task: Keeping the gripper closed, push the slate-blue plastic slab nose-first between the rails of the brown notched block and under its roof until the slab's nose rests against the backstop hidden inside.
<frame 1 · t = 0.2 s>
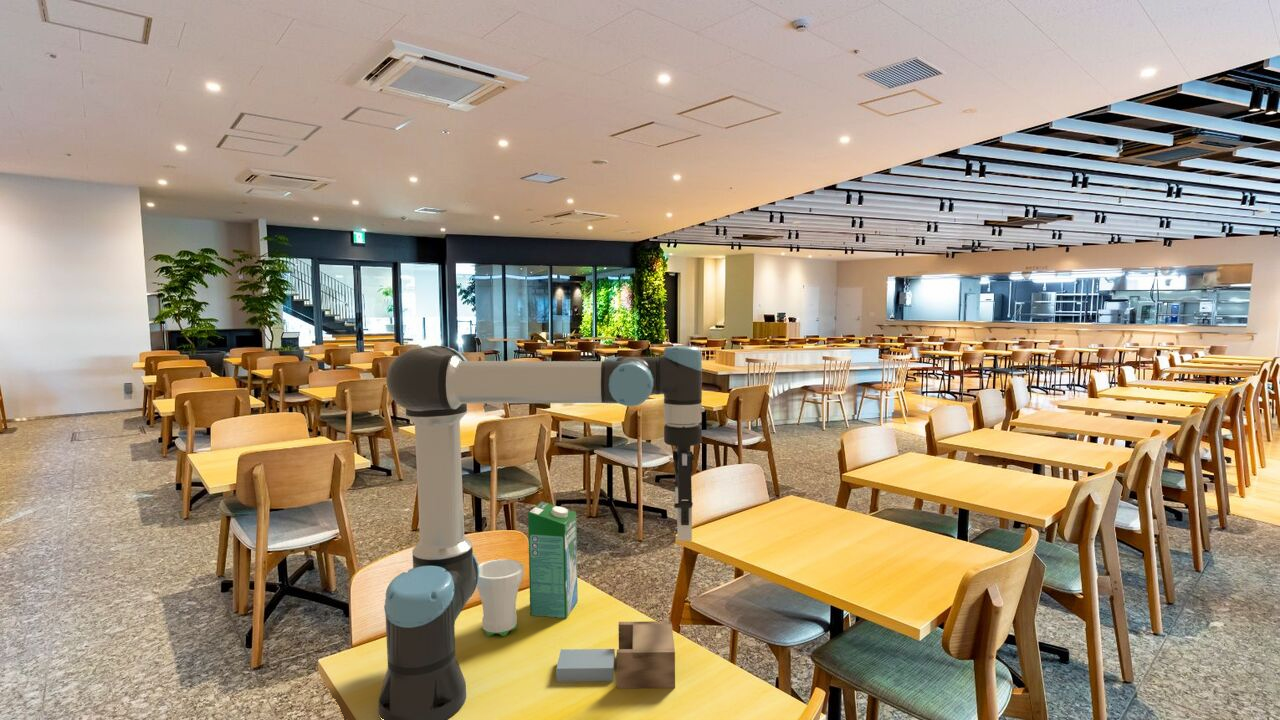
hand: (683, 528, 125), 28 cm above the table, fingers open, 13 cm apart
brown notched block: (645, 670, 124), on the table
milk carton: (554, 609, 151), on the table
slab: (586, 673, 124), on the table
cup: (499, 630, 141), on the table
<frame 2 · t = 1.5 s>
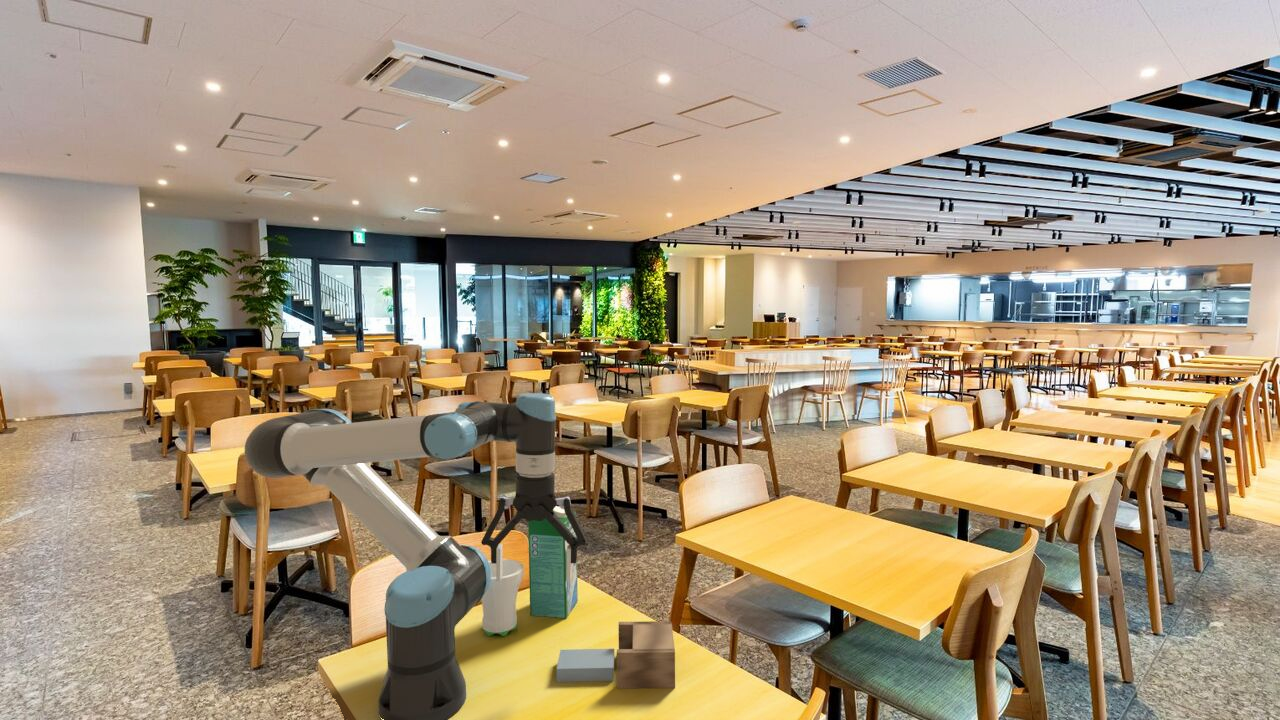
hand: (534, 578, 123), 19 cm above the table, fingers open, 13 cm apart
nothing on the table moved.
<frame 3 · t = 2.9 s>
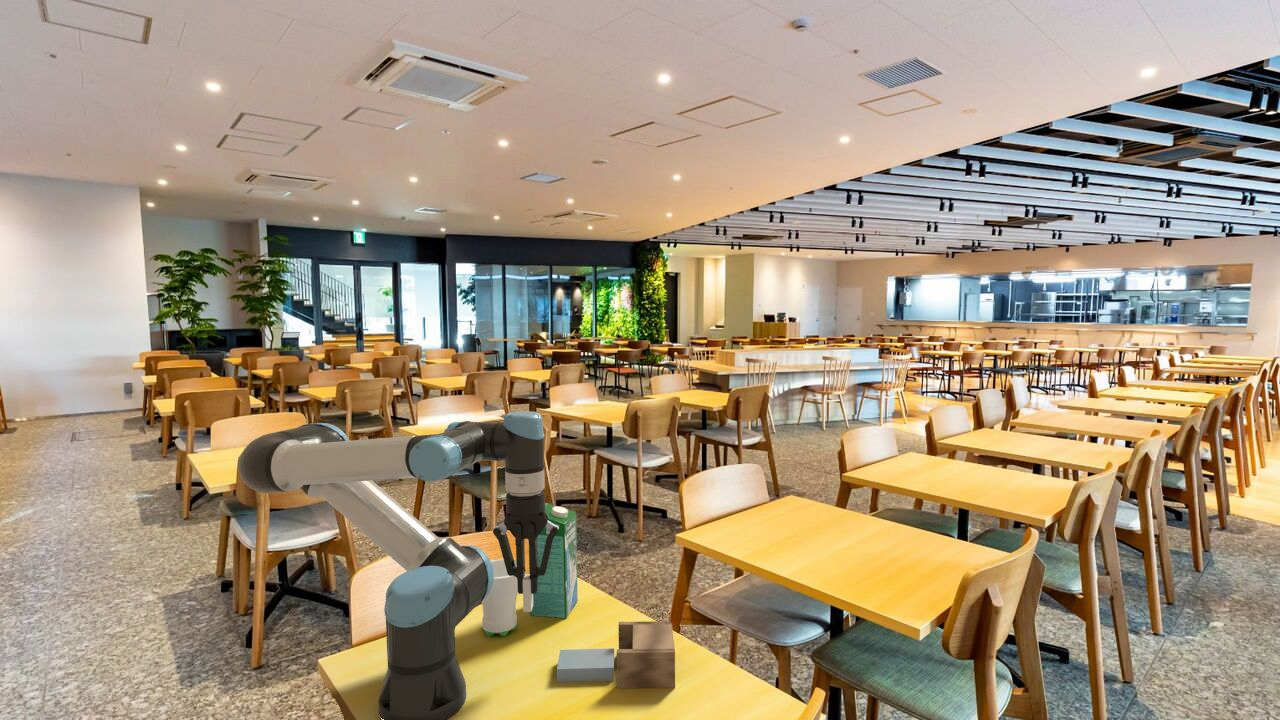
hand: (528, 608, 123), 13 cm above the table, fingers closed
nothing on the table moved.
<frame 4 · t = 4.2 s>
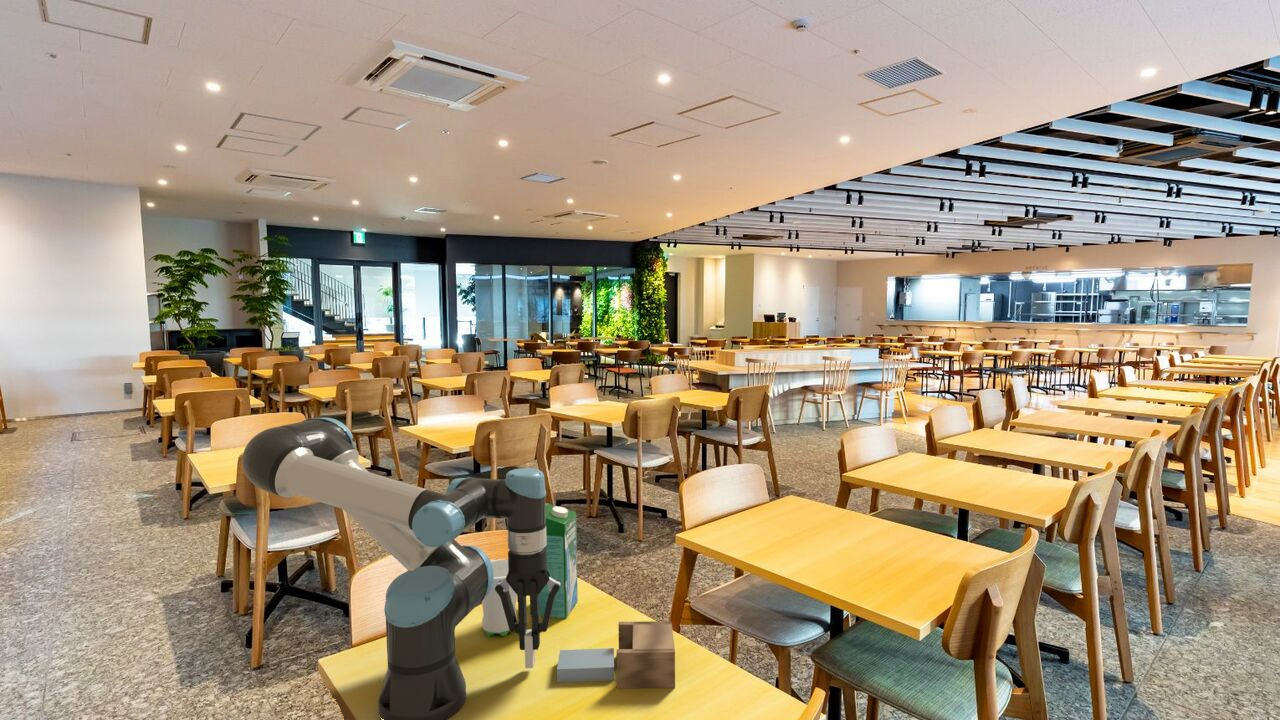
hand: (530, 664, 124), 1 cm above the table, fingers closed
nothing on the table moved.
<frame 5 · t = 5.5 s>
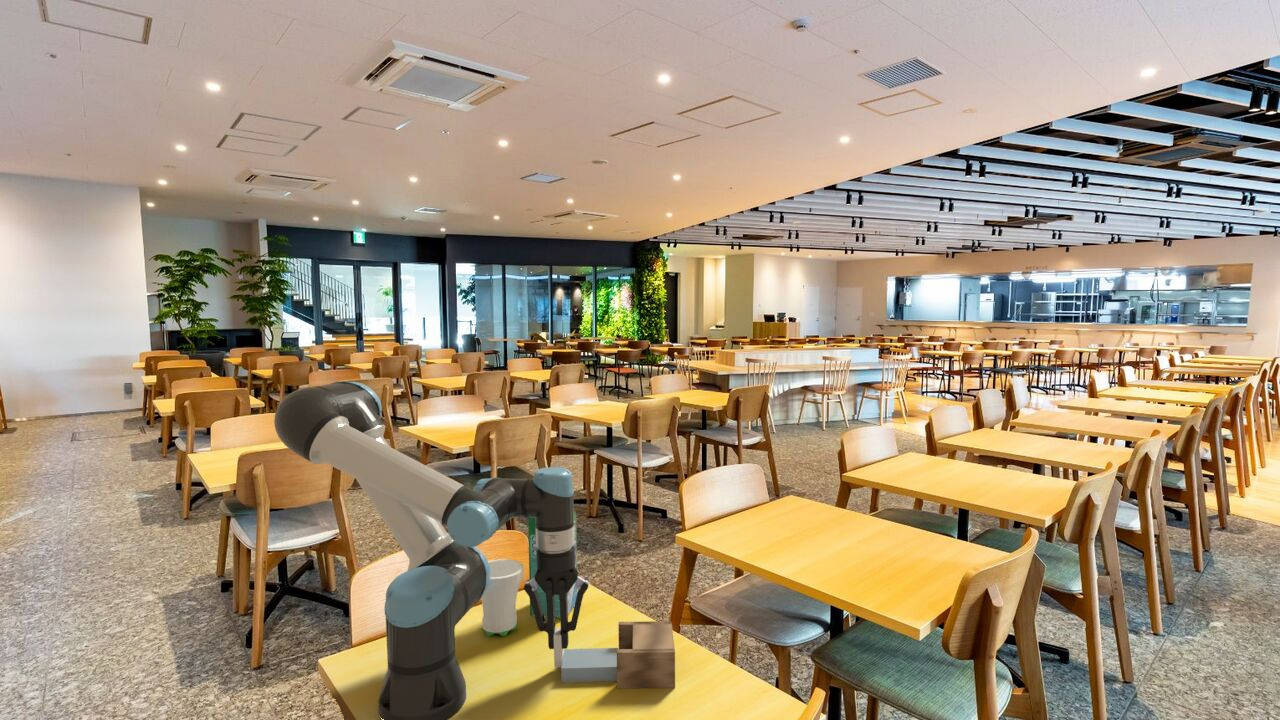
hand: (559, 663, 124), 2 cm above the table, fingers closed
nothing on the table moved.
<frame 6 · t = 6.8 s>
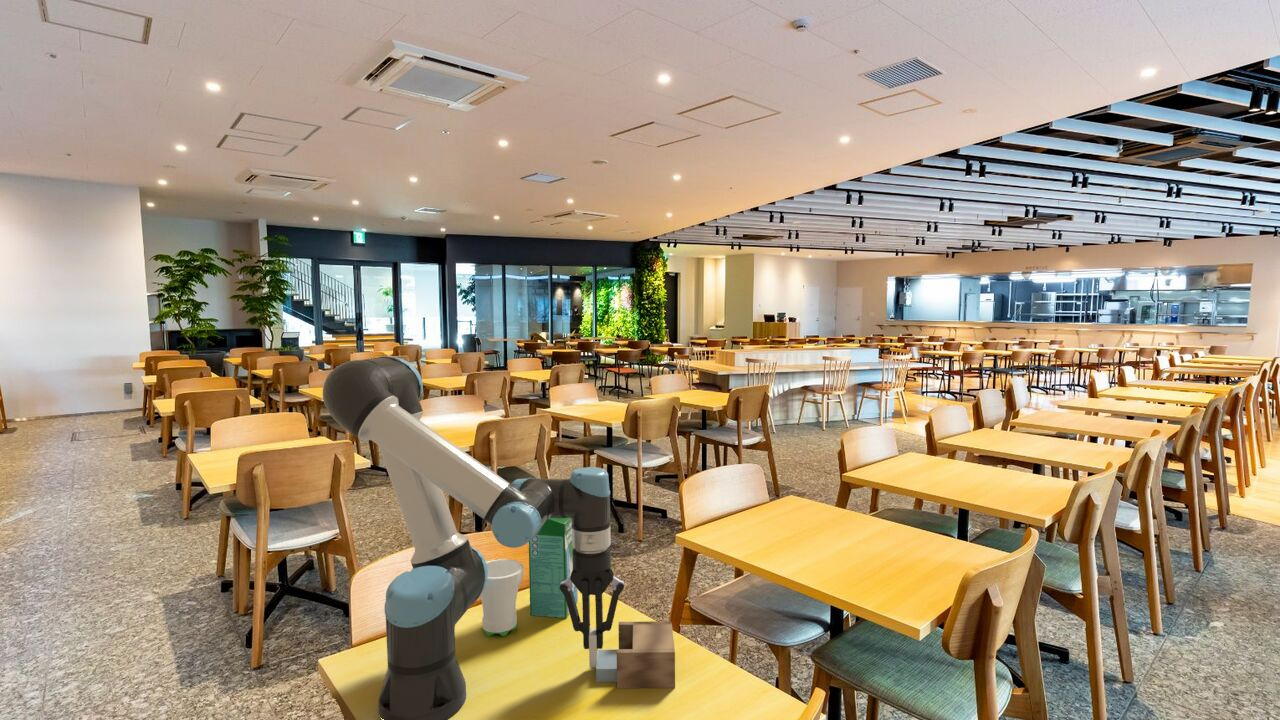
hand: (593, 663, 124), 2 cm above the table, fingers closed
slab: (625, 673, 124), on the table, touching gripper
everything else where it was.
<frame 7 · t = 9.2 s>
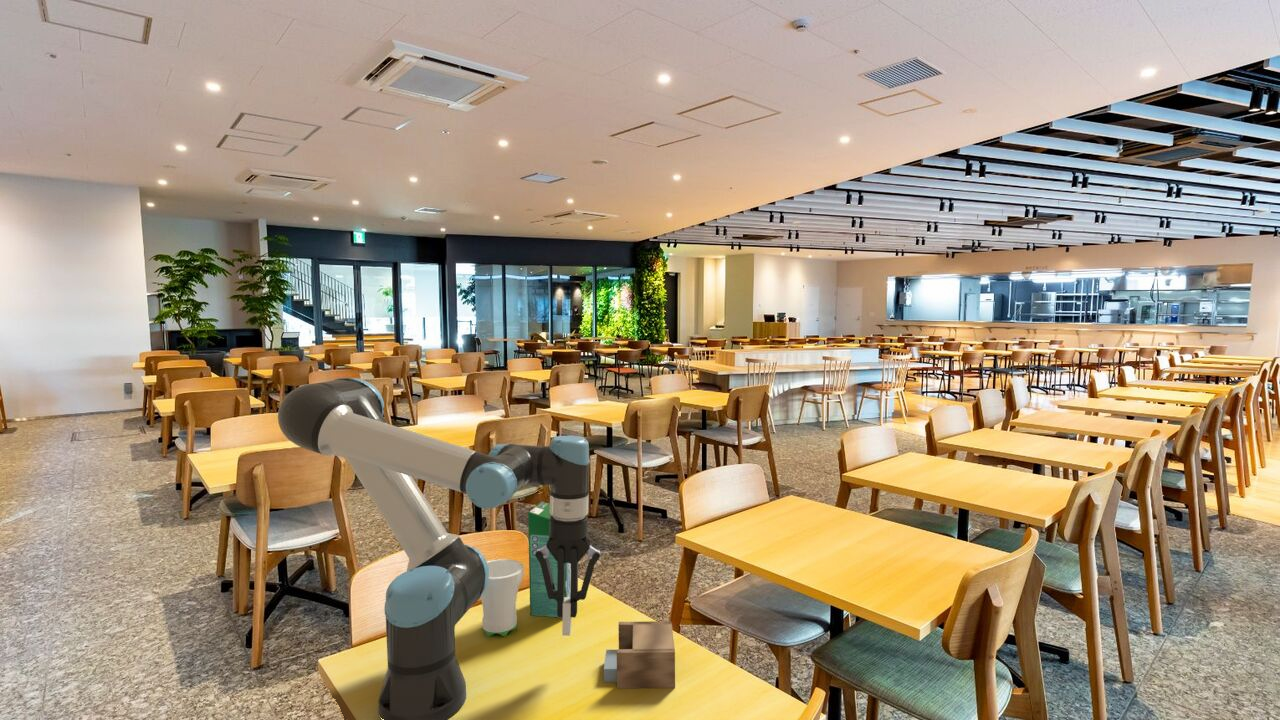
hand: (566, 632, 123), 8 cm above the table, fingers closed
slab: (632, 673, 124), on the table
everything else where it was.
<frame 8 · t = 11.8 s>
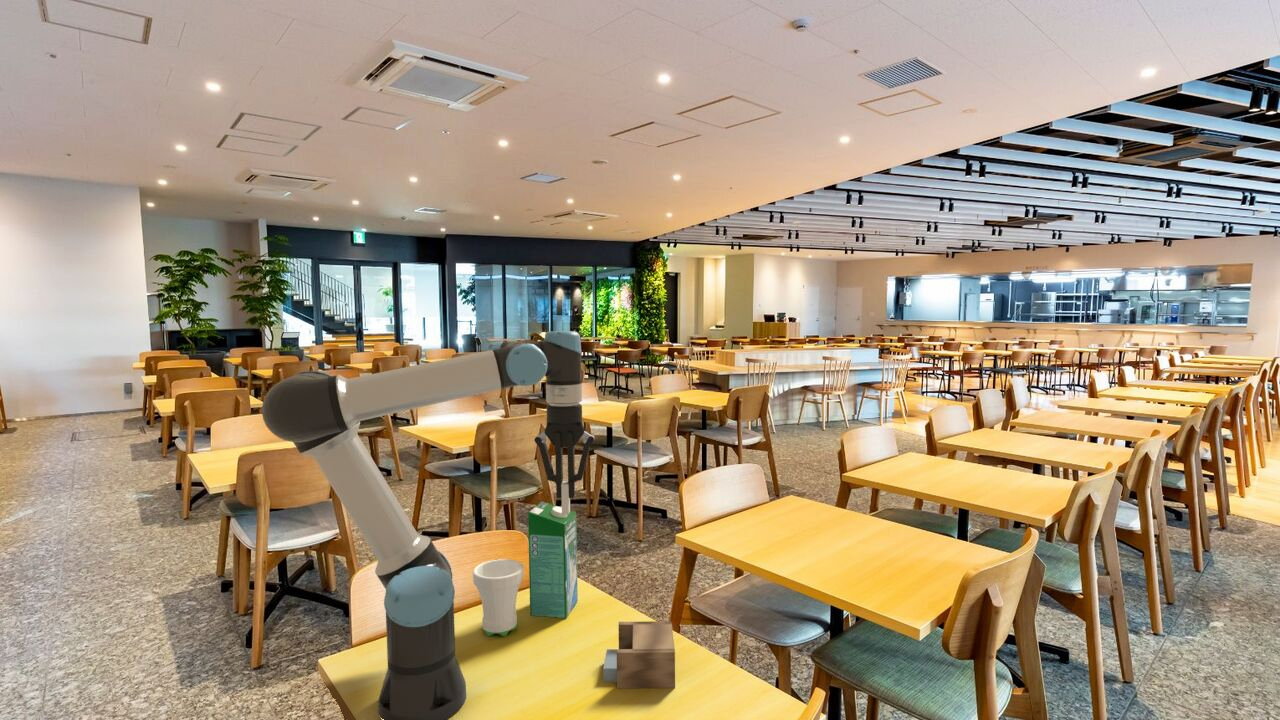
hand: (566, 512, 134), 28 cm above the table, fingers closed
nothing on the table moved.
at the end: slab 0.8 cm from the target spot on the brown notched block, point 0.0 cm above the brown notched block's base; slab tilted 0° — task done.
